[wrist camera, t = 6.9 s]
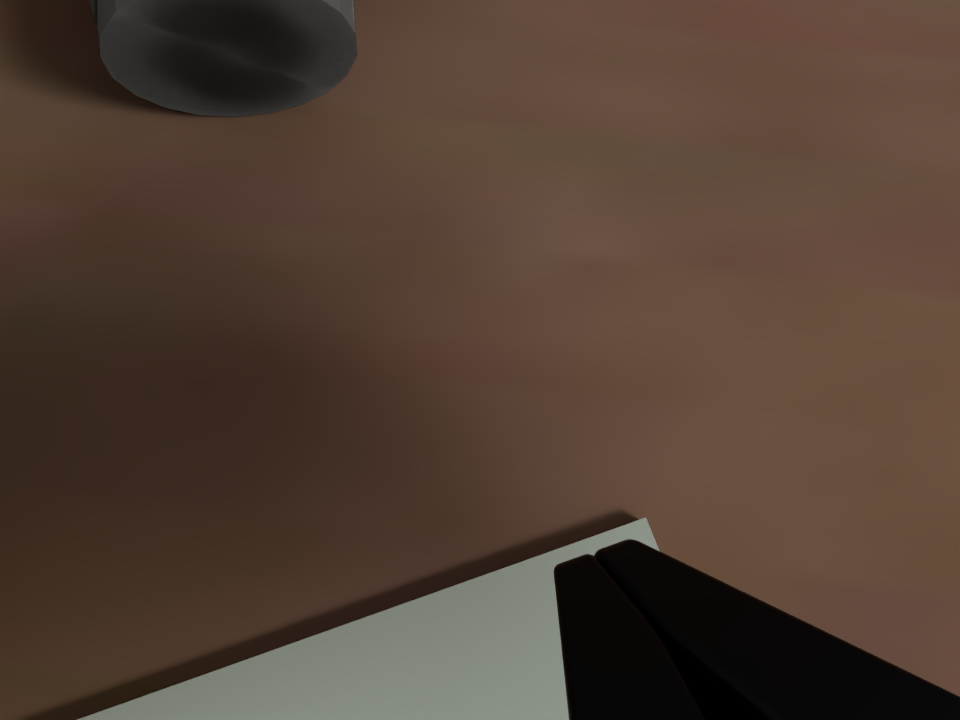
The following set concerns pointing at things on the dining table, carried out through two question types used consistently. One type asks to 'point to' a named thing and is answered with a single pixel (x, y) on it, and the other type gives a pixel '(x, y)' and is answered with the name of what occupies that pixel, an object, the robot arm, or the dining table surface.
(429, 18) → the dining table surface
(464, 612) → the mat
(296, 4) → the beverage cup
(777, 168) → the dining table surface
